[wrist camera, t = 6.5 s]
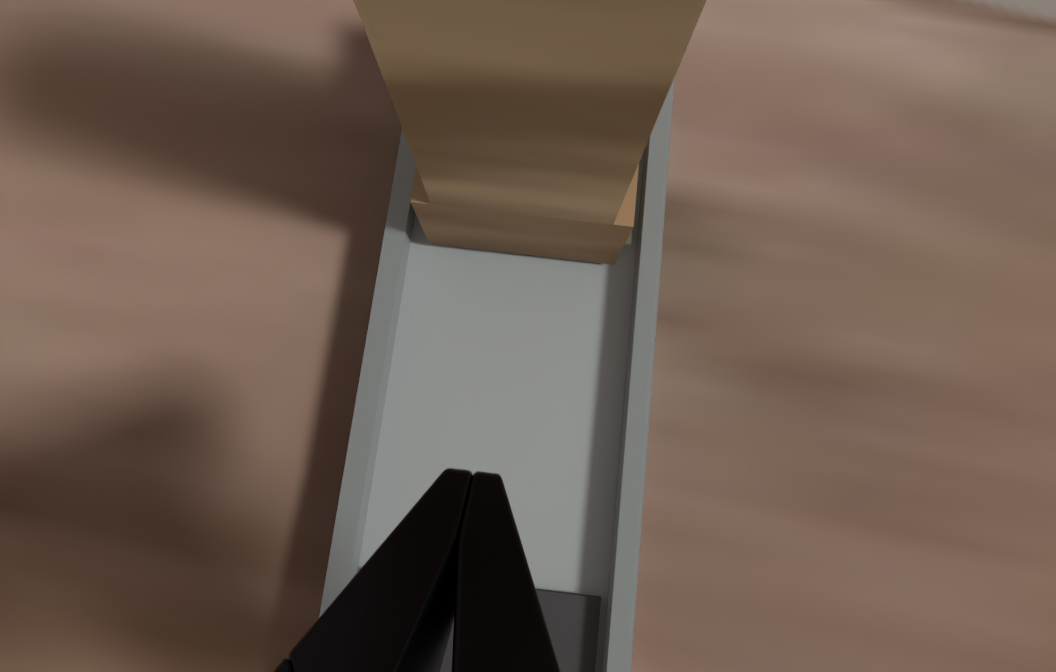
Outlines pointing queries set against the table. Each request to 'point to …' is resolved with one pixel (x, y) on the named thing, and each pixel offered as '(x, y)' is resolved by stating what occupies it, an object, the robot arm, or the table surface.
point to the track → (515, 406)
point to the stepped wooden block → (528, 114)
